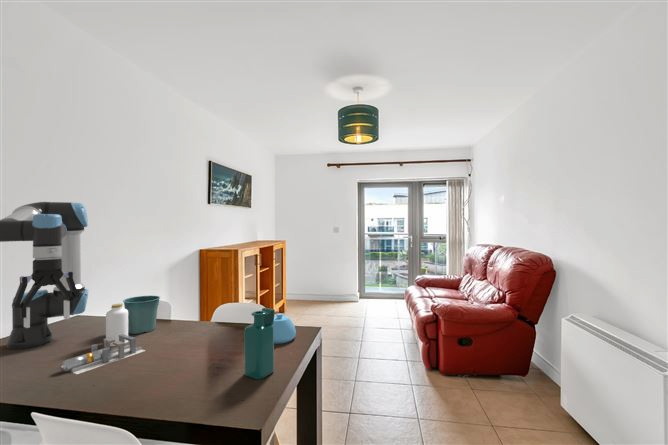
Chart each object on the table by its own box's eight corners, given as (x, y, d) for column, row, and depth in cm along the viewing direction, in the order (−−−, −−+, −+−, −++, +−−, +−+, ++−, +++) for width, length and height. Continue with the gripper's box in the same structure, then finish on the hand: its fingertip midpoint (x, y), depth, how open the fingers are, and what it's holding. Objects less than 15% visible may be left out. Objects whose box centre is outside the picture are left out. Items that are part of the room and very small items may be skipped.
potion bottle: (117, 349, 137) (116, 307, 137) (100, 347, 138) (100, 306, 139) (132, 342, 145) (132, 302, 145) (117, 341, 147) (117, 302, 147)
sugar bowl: (256, 342, 144) (256, 316, 144) (274, 331, 158) (274, 308, 158) (285, 346, 138) (285, 320, 138) (301, 335, 152) (301, 311, 152)
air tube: (67, 373, 113) (68, 362, 113) (62, 369, 115) (63, 358, 115) (111, 358, 125) (111, 349, 125) (105, 355, 127) (106, 345, 127)
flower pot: (151, 323, 173) (151, 293, 174) (166, 328, 164) (166, 297, 164) (117, 331, 160) (117, 299, 160) (131, 338, 150) (131, 304, 151)
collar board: (60, 369, 118) (60, 350, 118) (128, 347, 139) (128, 331, 139) (76, 377, 112) (76, 357, 112) (145, 353, 132) (145, 336, 132)
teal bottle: (259, 381, 108) (258, 316, 108) (242, 375, 112) (241, 312, 112) (278, 369, 116) (278, 309, 116) (262, 364, 120) (261, 306, 121)
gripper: (5, 262, 98) (5, 334, 98) (90, 256, 118) (90, 315, 118) (-3, 261, 102) (-3, 330, 102) (81, 255, 122) (81, 313, 122)
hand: (47, 322), depth 110 cm, fingers open, 10 cm apart
